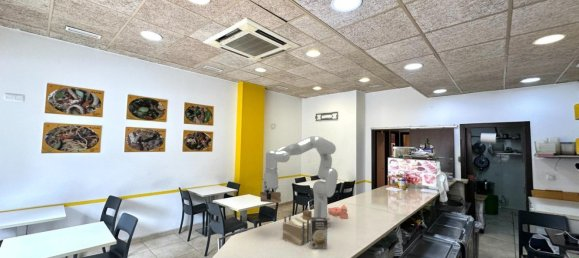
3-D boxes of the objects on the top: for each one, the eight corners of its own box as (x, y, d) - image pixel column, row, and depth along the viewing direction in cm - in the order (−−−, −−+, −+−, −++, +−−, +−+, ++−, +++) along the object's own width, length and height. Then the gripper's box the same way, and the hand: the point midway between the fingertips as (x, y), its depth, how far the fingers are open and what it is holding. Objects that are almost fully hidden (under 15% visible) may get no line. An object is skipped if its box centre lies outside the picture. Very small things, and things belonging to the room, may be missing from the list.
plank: (264, 200, 162) (263, 191, 162) (280, 202, 151) (280, 192, 152) (260, 201, 159) (260, 192, 160) (277, 202, 149) (277, 192, 150)
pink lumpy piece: (328, 213, 204) (328, 201, 204) (337, 212, 208) (337, 200, 208) (341, 219, 188) (341, 206, 188) (351, 218, 192) (351, 205, 192)
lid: (302, 217, 162) (302, 208, 163) (317, 222, 154) (317, 212, 154) (285, 224, 150) (285, 213, 150) (301, 229, 142) (301, 218, 142)
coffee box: (311, 249, 135) (311, 220, 136) (309, 244, 141) (310, 217, 142) (327, 249, 135) (327, 220, 136) (325, 244, 142) (325, 217, 142)
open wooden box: (302, 230, 164) (302, 210, 165) (320, 236, 154) (320, 215, 155) (282, 239, 149) (282, 217, 150) (301, 246, 139) (301, 223, 140)
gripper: (275, 168, 165) (275, 196, 164) (257, 170, 153) (257, 200, 152) (284, 169, 160) (283, 197, 159) (266, 172, 148) (265, 202, 147)
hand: (270, 198), depth 155 cm, fingers closed on plank, 2 cm apart
